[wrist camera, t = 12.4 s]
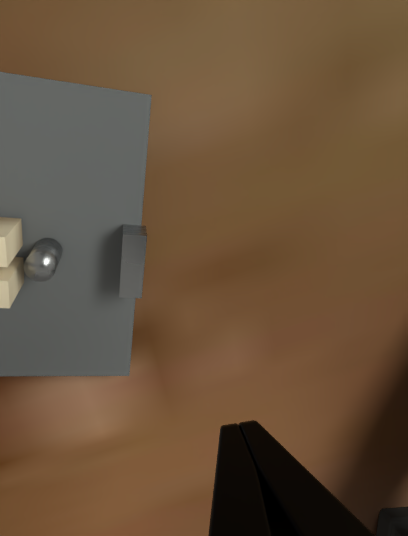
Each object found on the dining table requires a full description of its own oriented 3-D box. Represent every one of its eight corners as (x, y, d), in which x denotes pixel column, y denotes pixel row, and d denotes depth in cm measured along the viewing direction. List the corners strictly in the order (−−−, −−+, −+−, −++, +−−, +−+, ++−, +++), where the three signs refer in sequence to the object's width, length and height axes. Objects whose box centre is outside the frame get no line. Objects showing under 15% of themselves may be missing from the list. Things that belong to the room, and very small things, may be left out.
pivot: (145, 225, 18) (147, 240, 16) (140, 284, 19) (141, 304, 17) (33, 216, 17) (22, 231, 15) (35, 279, 18) (24, 300, 16)
